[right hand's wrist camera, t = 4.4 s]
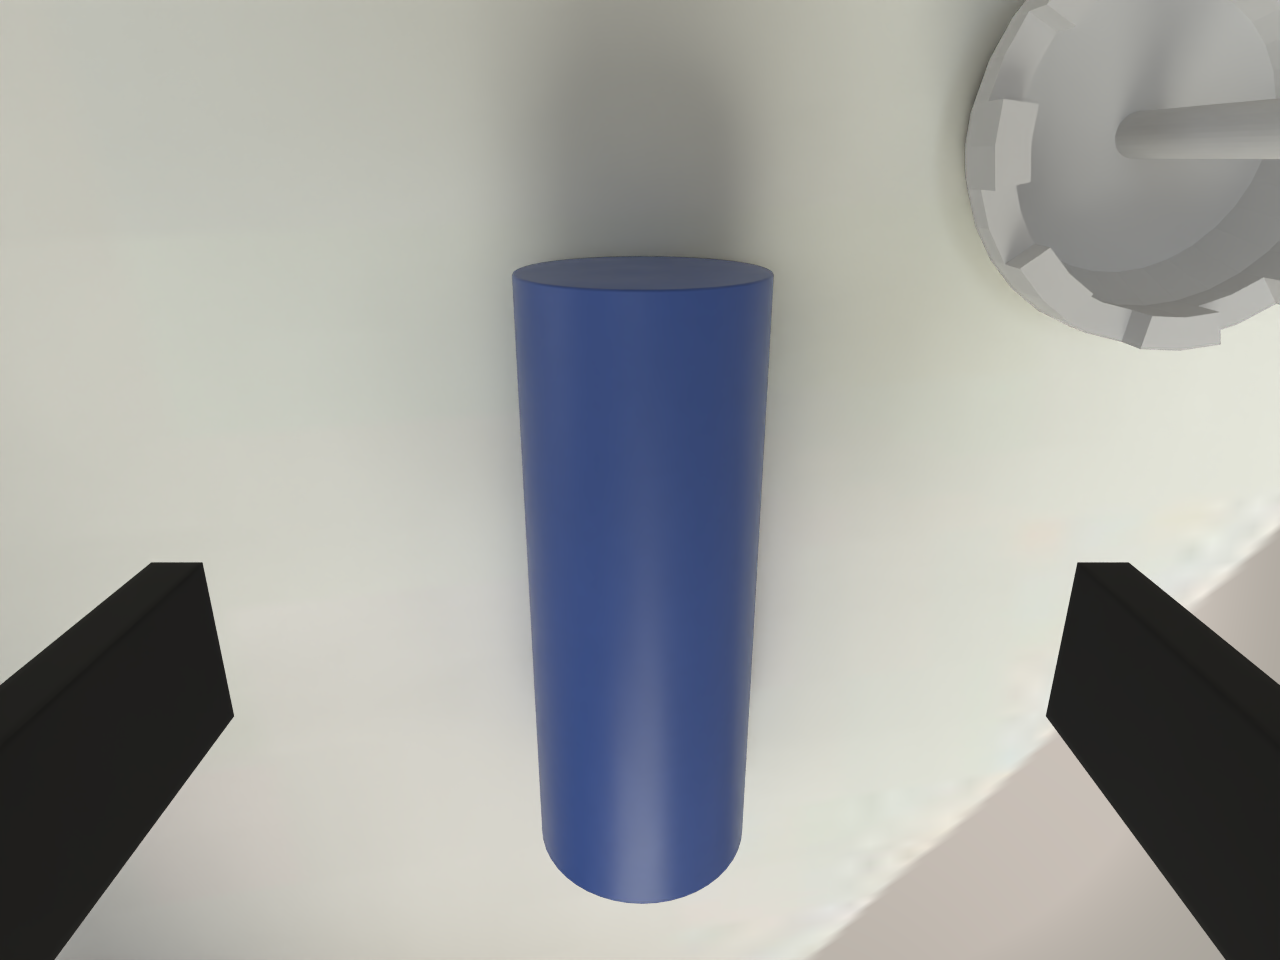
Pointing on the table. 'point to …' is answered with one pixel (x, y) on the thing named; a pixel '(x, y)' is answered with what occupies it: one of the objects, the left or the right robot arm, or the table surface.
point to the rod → (642, 558)
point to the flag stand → (1133, 165)
